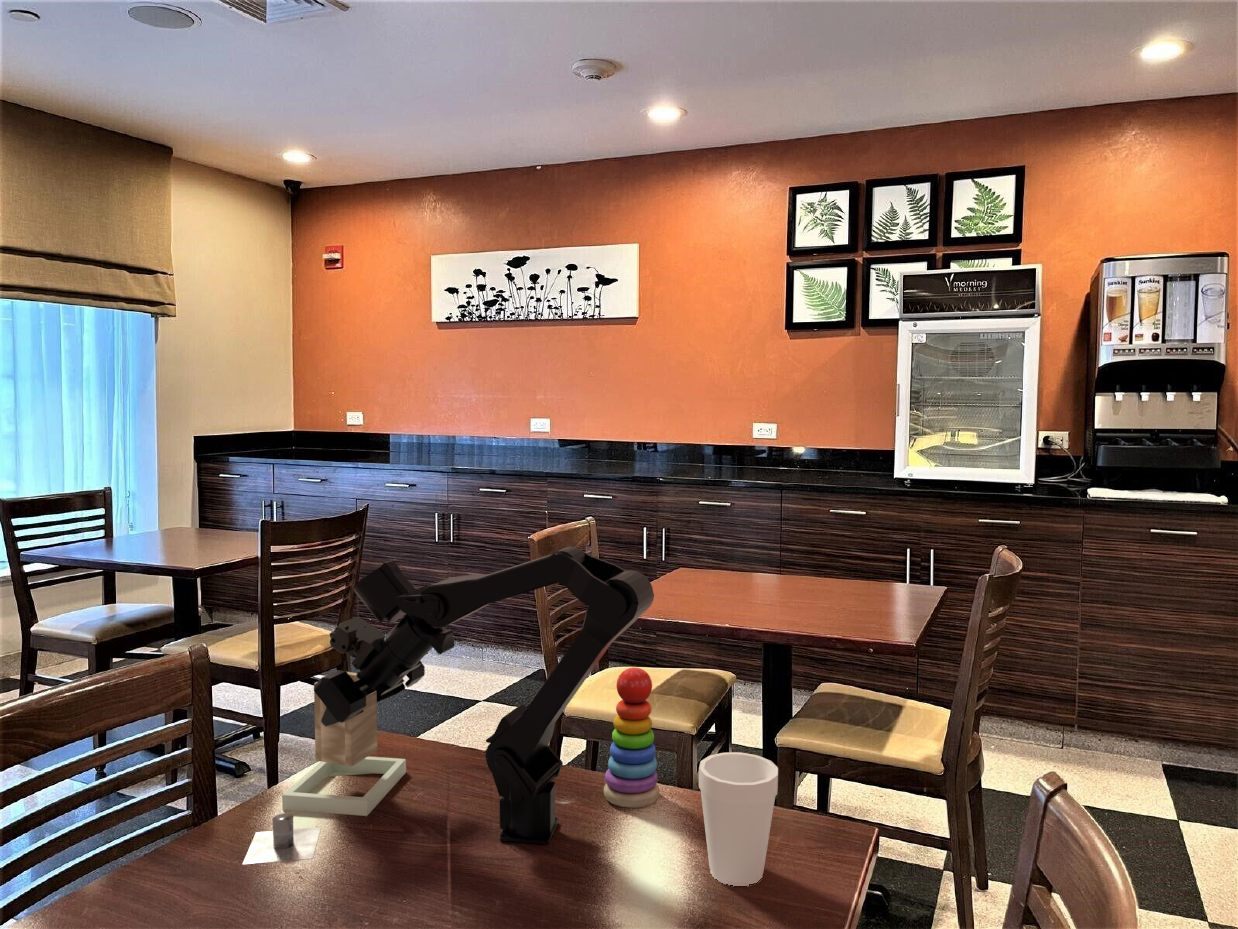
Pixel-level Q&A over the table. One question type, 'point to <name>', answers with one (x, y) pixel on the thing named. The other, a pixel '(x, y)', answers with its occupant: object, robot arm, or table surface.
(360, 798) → the green tray
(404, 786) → the table surface
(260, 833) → the stand
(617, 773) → the stacking toy
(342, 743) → the birch sleeve
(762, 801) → the foam cup
